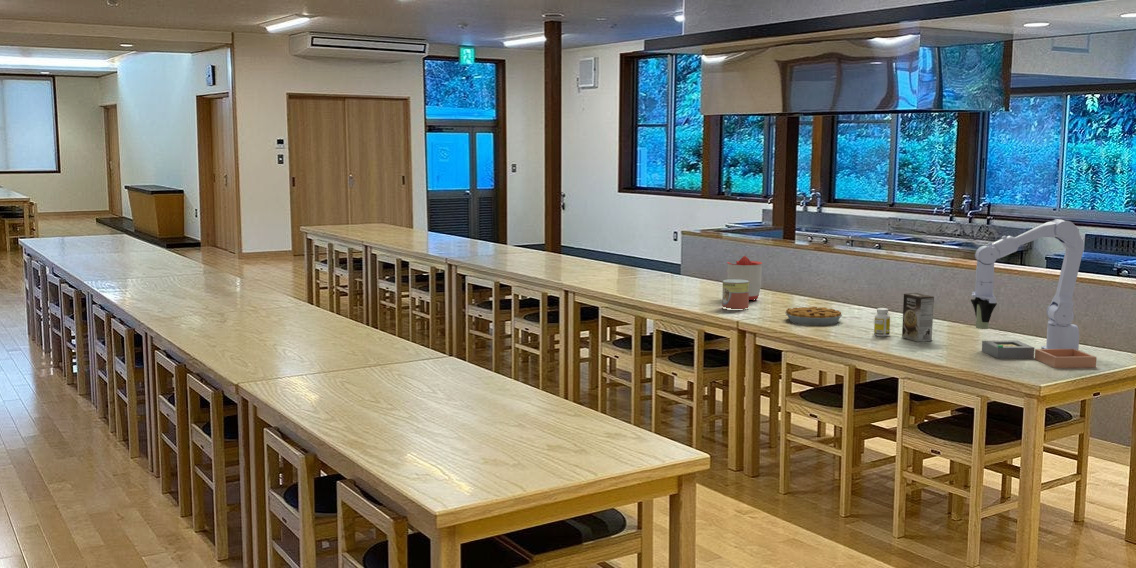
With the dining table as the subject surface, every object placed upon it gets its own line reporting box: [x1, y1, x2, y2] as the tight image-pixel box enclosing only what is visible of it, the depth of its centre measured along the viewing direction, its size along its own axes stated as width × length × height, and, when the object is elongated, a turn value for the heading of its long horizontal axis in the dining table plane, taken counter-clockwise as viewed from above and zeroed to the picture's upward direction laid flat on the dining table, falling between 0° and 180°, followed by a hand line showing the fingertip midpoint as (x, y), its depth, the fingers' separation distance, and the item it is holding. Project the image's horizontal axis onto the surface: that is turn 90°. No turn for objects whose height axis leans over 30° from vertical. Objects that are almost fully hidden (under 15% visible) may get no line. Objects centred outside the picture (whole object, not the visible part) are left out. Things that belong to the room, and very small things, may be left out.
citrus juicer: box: [725, 255, 763, 301], centre depth 455 cm, size 16×17×20 cm
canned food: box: [721, 278, 750, 309], centre depth 431 cm, size 11×11×12 cm
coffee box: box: [901, 292, 935, 343], centre depth 361 cm, size 9×6×16 cm
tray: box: [1034, 348, 1098, 369], centre depth 321 cm, size 13×13×3 cm
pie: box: [785, 306, 843, 326], centre depth 400 cm, size 22×22×5 cm
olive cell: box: [975, 304, 990, 330], centre depth 344 cm, size 4×4×9 cm
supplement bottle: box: [873, 307, 891, 337], centre depth 369 cm, size 5×5×10 cm
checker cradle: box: [981, 340, 1036, 359], centre depth 335 cm, size 12×12×4 cm
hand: (982, 321), depth 344 cm, fingers closed on olive cell, 4 cm apart
